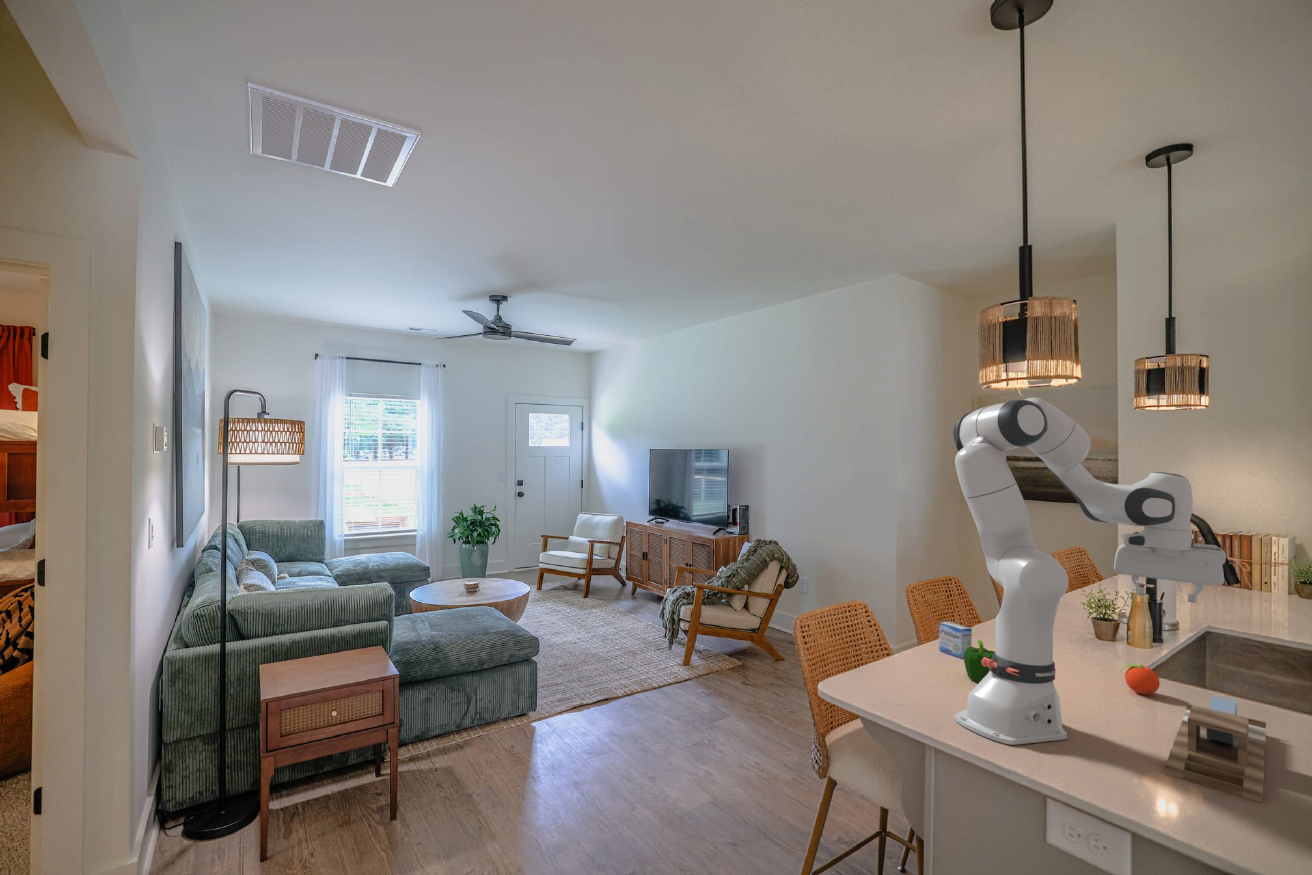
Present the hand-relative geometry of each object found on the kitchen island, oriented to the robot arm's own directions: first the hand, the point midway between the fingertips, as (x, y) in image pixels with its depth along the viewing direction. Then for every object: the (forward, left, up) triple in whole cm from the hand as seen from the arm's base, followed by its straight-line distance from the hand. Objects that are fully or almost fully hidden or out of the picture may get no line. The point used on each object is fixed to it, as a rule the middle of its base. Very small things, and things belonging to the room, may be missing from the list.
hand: (1165, 598), depth 146 cm
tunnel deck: (-16, -17, -26) cm, 35 cm away
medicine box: (-14, +47, -26) cm, 56 cm away
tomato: (+5, +8, -26) cm, 28 cm away
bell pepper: (-26, +29, -26) cm, 47 cm away
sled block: (-7, -14, -24) cm, 29 cm away
